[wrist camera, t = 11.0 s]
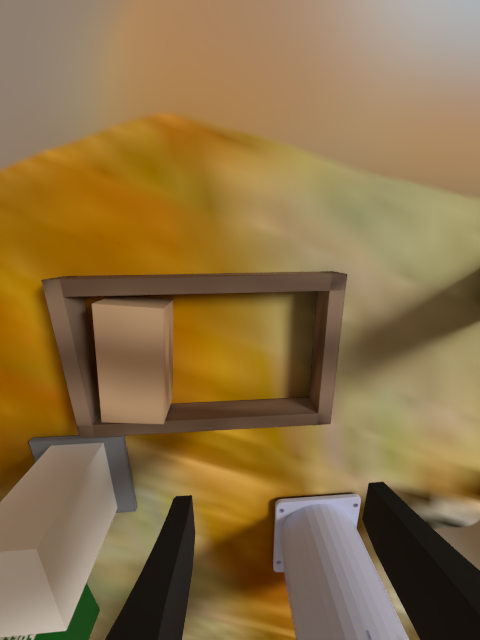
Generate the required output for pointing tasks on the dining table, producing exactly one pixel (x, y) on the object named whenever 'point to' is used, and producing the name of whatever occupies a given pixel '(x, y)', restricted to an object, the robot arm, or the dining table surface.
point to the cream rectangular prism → (52, 537)
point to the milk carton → (71, 622)
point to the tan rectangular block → (134, 358)
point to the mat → (115, 458)
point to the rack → (201, 416)
